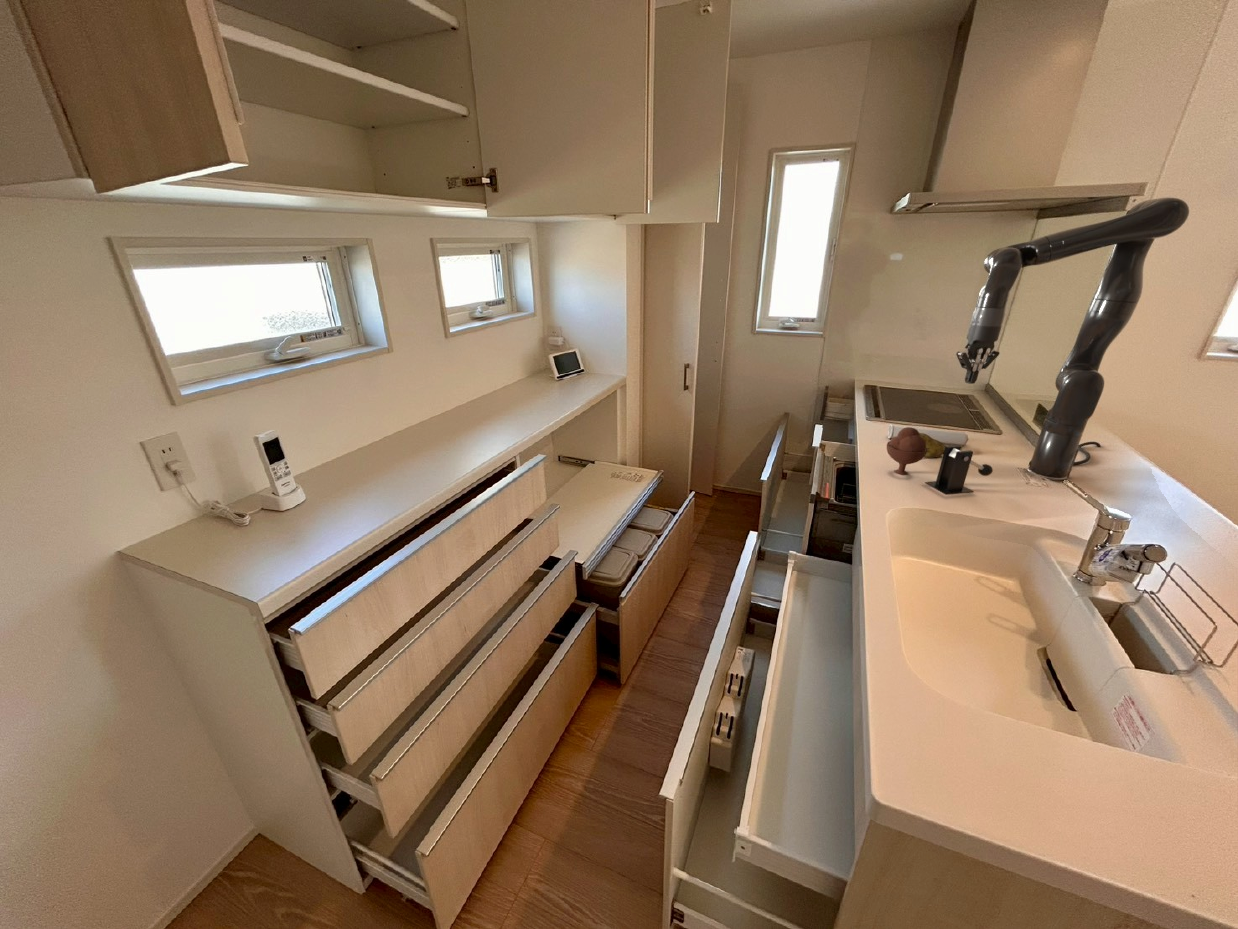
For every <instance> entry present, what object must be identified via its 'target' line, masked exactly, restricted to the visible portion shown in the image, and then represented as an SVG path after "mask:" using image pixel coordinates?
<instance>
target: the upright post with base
mask: <svg viewBox="0 0 1238 929" xmlns="http://www.w3.org/2000/svg"><path fill="white" fill-rule="evenodd" d="M954 448H955V449H957V450H960V451H957V452H956V456H955V459H954V458H953V457H951V456H949V454H950V453H951V451H952V450H953V449H954ZM962 449H963V446H959V445H957V446H956V445H946V446H945V450H944V454H943V455H942V458H941V462H940V464H939V469H938V473H937V477H936V480H934V481H924V484H926V485H927V486H929V487H931V488H933V489H934V490H936V491H938V492H940V493H942V494H943V495H944V496H945V495H946V496H947V495H957V494H958V495H959V494H968V493H969V494H970V493H974V490H972V489H970V488H968V487H966V486H964V485H965V482H966V479H967V475H968V472H969V469H970V466H971V464H970V462H971V460H972V458H973V455H974V450H962Z"/></svg>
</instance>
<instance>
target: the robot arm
mask: <svg viewBox="0 0 1238 929" xmlns="http://www.w3.org/2000/svg"><path fill="white" fill-rule="evenodd" d="M1189 215H1190V207H1189V205H1188V203H1187V202H1186V201H1185V200H1183V199H1181V198H1179V197H1178V198H1177V197H1171V196H1170V197H1159V198H1158V197H1157V198H1152V199H1147V200H1143V201H1141V202H1138V203H1137V204H1136V205H1134V206H1132V208H1130V209H1129V210H1128V212H1127V213H1126V214H1125V215H1121V216H1119V217H1116V218H1113V219H1108V220H1104V221H1100V222H1096V223H1092V224H1087V225H1082V226H1078V227H1073V228H1068V229H1065V230H1062V231H1057V232H1054V233H1050V234H1047V235H1043V236H1040V237H1038V238H1035V239H1032V240H1028V241H1023V242H1019V243H1015V244H1011V245H1006V246H1003V247H1000V248H997V249H994V250H992V251H991V252H990V253H989V254H988V255H987V256H986V257H985V259H984V261H983V269H984V270H985V272H986V273H988V277H987V280H986V282H985V285H983V286H982V287H981V288H980V291H979V294H978V297H977V301H976V304H975V308H974V310H973V312H972V316H971V319H970V324H969V327H968V331H967V334H966V340H967V342H966V344H965V346H964V349H963V350H962V351H957V352H956V354H955V355H956V358H957V360H958V362H959V364H960V367H961V369H964V370H966V373H965V377H964V382H965V383H966V384H970V385H971V384H973V385H975V384H976V382H977V380H978V377H979V374H980V372H981V371H982V370H986V369H987V368H988V367H989V366H990V365H991V364H992V363H993V362H994V361H995V360H996V359H997V358H998V357H999V355H1000V354H1001V353H1000V351H997V350H996V349H995V346H996V345H995V342H998V340H999V338H1000V334H1001V330H1002V327H1003V323H1004V319H1005V316H1006V309H1007V305H1008V301H1009V298H1010V293H1011V291H1012V289H1013V287H1014V285H1015V283H1016V281H1017V279H1018V277H1019V275H1020V272H1021V270H1022V269H1023V268H1027V267H1032V266H1040V265H1041V266H1042V265H1046V264H1050V263H1053V262H1056V261H1060V260H1064V259H1067V258H1071V257H1073V256H1077V255H1080V254H1081V255H1082V254H1085V253H1088V252H1091V251H1095V250H1098V249H1101V248H1105V247H1109V246H1110V247H1111V246H1113V245H1114V246H1113V250H1112V252H1111V255H1110V259H1109V261H1108V263H1107V265H1106V268H1105V269H1104V272H1103V274H1102V277H1101V279H1100V281H1099V284H1098V286H1097V288H1096V290H1095V292H1094V294H1093V297H1092V299H1091V301H1090V303H1089V306H1088V308H1087V310H1086V314H1085V315H1084V318H1083V320H1082V323H1081V326H1080V328H1079V330H1078V333H1077V337H1076V340H1075V342H1074V344H1073V347H1072V349H1071V350H1070V353H1069V355H1068V356H1067V358H1066V360H1065V362H1064V363H1063V365H1062V366H1061V368H1060V370H1059V372H1058V373H1057V375H1056V378H1055V388H1056V390H1057V391H1058V393H1057V394H1056V398H1055V401H1054V403H1053V405H1052V407H1051V408H1050V409H1048V410H1047V413H1046V415H1045V418H1044V421H1043V423H1042V424H1043V425H1042V428H1041V430H1040V433H1039V436H1038V440H1037V442H1036V445H1035V448H1034V450H1033V454H1032V457H1031V459H1030V461H1029V462H1028V465H1027V467H1028V468H1027V471H1028V472H1030V473H1032V474H1034V475H1037V476H1040V477H1042V478H1045V479H1046V480H1048V481H1052V482H1053V481H1054V482H1063V481H1065V480H1064V479H1066V480H1067V479H1068V478H1069V477H1070V474H1071V472H1072V469H1073V467H1074V466H1078V465H1082V464H1085V463H1087V462H1089V461H1090V459H1091V454H1090V453H1089V452H1088V451H1087V450H1086V449H1084V448H1082V447H1085V446H1091V445H1094V446H1096V447H1097V448H1101V447H1102V445H1101V444H1100V443H1099V442H1098V441H1085V442H1083V443H1081V440H1082V437H1083V434H1084V432H1085V429H1086V426H1087V424H1088V421H1089V420H1090V418H1091V417H1092V416H1093V415H1094V413H1095V411H1096V409H1097V406H1098V404H1099V402H1100V400H1101V397H1102V394H1103V392H1104V388H1105V378H1104V376H1103V375H1102V374H1101V372H1099V370H1100V366H1101V364H1102V361H1103V359H1104V357H1105V355H1106V352H1107V350H1108V348H1110V346H1111V345H1112V344H1113V342H1114V341H1115V340H1116V339H1117V338H1118V336H1119V335H1120V334H1121V333H1122V332H1123V331H1124V329H1125V328H1126V326H1127V325H1128V323H1129V322H1130V320H1131V319H1132V317H1133V315H1134V313H1135V310H1136V309H1137V306H1138V304H1139V302H1140V301H1141V300H1140V299H1141V296H1142V294H1143V287H1144V267H1145V266H1144V265H1145V262H1146V258H1147V256H1148V253H1149V251H1150V250H1151V248H1152V245H1153V244H1154V242H1155V240H1156V239H1160V238H1164V237H1167V236H1169V235H1171V234H1173V233H1174V232H1176V231H1178V230H1179V229H1180V228H1181V227H1182V226H1183V225H1184V224H1185V223H1186V221H1187V220H1188V217H1189ZM1079 452H1081V453H1082V454H1084V455H1085V458H1084V459H1082V460H1079V461H1078V460H1077V461H1076V459H1077V456H1078V454H1079Z"/></svg>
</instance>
